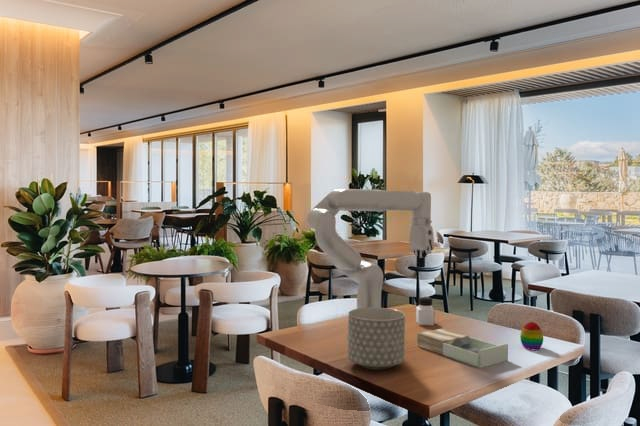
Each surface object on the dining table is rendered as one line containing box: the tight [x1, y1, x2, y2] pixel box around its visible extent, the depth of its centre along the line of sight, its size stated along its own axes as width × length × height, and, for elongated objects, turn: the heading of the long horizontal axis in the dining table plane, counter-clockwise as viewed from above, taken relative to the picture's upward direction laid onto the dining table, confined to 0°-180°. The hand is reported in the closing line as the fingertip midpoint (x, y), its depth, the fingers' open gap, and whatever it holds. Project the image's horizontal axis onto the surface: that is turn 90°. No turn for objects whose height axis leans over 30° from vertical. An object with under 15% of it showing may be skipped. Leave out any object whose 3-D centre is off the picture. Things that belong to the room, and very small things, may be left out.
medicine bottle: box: [415, 296, 436, 326], centre depth 235 cm, size 7×7×12 cm
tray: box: [442, 336, 509, 369], centre depth 185 cm, size 15×17×6 cm
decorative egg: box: [519, 321, 544, 350], centre depth 198 cm, size 8×8×10 cm
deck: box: [417, 328, 470, 356], centre depth 198 cm, size 14×13×5 cm
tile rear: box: [455, 337, 473, 348], centre depth 190 cm, size 5×5×2 cm
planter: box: [347, 307, 406, 371], centre depth 175 cm, size 19×19×18 cm
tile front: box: [461, 346, 480, 354], centre depth 186 cm, size 5×5×2 cm
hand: (420, 267), depth 210 cm, fingers closed
